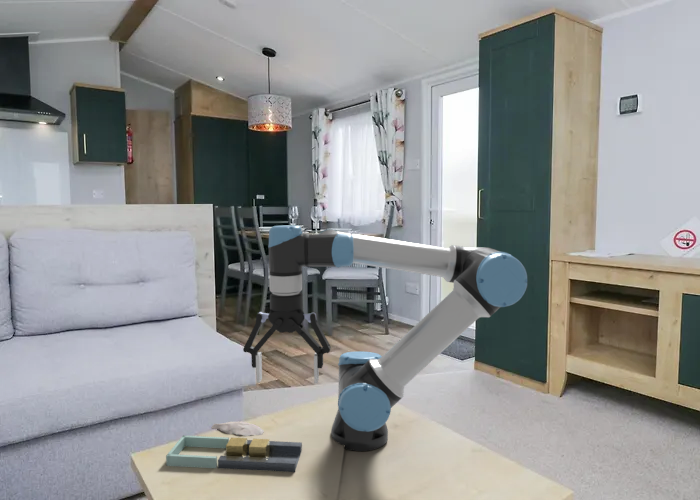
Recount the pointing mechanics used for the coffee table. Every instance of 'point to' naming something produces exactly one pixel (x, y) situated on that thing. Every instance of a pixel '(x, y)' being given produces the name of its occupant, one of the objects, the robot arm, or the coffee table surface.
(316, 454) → the coffee table surface
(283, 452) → the slot board
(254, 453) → the chip
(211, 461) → the tray
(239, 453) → the chip
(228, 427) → the stone tool
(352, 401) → the robot arm
